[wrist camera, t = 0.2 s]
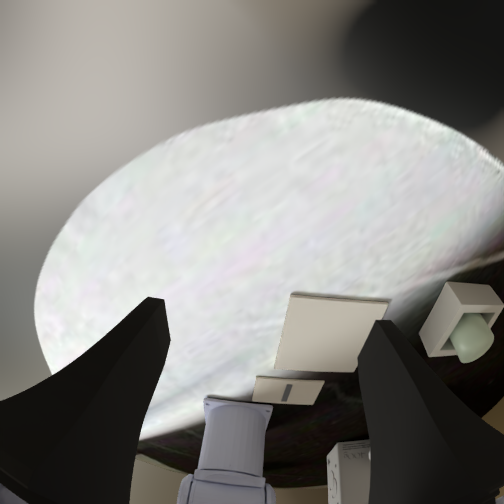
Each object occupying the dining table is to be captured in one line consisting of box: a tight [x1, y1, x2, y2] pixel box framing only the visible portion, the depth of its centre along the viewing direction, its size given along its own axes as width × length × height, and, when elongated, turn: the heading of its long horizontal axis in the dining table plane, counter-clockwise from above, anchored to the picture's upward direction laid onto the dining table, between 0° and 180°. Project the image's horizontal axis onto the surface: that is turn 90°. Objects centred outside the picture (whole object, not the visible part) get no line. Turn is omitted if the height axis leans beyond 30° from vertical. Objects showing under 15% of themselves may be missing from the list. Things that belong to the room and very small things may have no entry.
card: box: [252, 376, 325, 405], centre depth 28 cm, size 5×7×1 cm
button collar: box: [419, 281, 504, 357], centre depth 20 cm, size 6×6×3 cm
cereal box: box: [327, 439, 371, 504], centre depth 27 cm, size 22×8×25 cm, turn 89°
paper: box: [274, 295, 388, 372], centre depth 23 cm, size 9×8×1 cm
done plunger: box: [449, 313, 494, 363], centre depth 18 cm, size 4×4×4 cm
